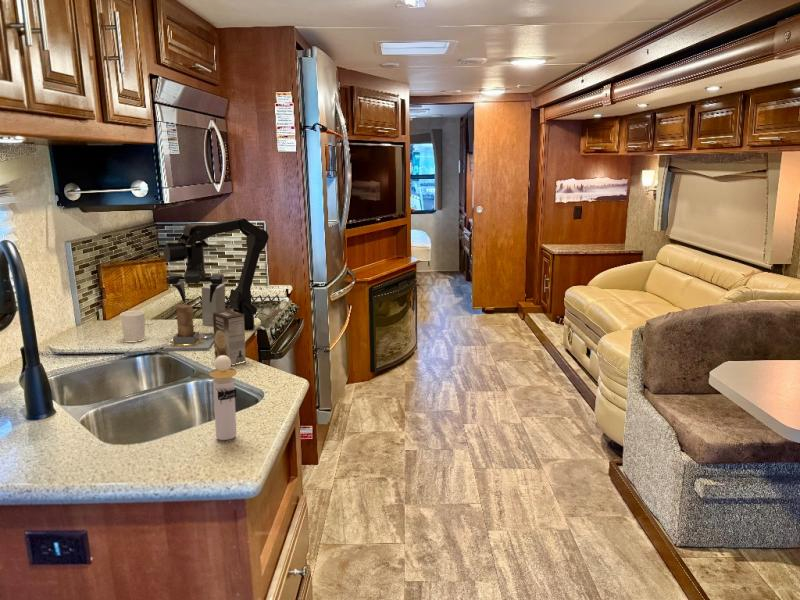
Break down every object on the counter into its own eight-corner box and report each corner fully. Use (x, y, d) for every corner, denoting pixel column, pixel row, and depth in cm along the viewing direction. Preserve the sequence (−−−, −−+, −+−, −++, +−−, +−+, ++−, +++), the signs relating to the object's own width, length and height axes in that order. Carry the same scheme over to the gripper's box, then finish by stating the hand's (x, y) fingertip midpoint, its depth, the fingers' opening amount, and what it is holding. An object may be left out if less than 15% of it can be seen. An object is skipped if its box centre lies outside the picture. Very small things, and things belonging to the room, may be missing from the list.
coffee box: (213, 360, 191) (211, 312, 188) (231, 356, 196) (229, 309, 192) (229, 367, 185) (227, 317, 182) (246, 362, 190) (245, 314, 186)
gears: (217, 334, 217) (217, 326, 217) (208, 347, 202) (208, 338, 201) (177, 334, 216) (177, 326, 215) (165, 348, 200) (165, 339, 199)
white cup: (150, 337, 215) (148, 311, 213) (139, 343, 208) (137, 316, 205) (130, 336, 216) (127, 310, 214) (117, 342, 208) (115, 315, 206)
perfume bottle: (209, 436, 137) (205, 354, 133) (233, 430, 140) (230, 350, 136) (218, 446, 132) (214, 361, 128) (243, 439, 136) (239, 356, 132)
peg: (186, 339, 208) (184, 304, 206) (194, 341, 206) (192, 306, 204) (178, 341, 205) (176, 306, 202) (185, 343, 203) (183, 308, 201)
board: (218, 336, 219) (218, 333, 219) (208, 350, 201) (208, 347, 201) (176, 336, 217) (176, 333, 217) (162, 351, 200) (162, 348, 199)
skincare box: (211, 320, 241) (209, 282, 237) (227, 321, 240) (226, 283, 236) (201, 325, 233) (199, 286, 229) (218, 326, 232) (216, 287, 228)
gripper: (162, 263, 202) (164, 307, 205) (218, 263, 204) (220, 307, 208) (170, 258, 213) (173, 300, 216) (223, 258, 215) (225, 300, 218)
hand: (197, 302), depth 214 cm, fingers open, 9 cm apart
